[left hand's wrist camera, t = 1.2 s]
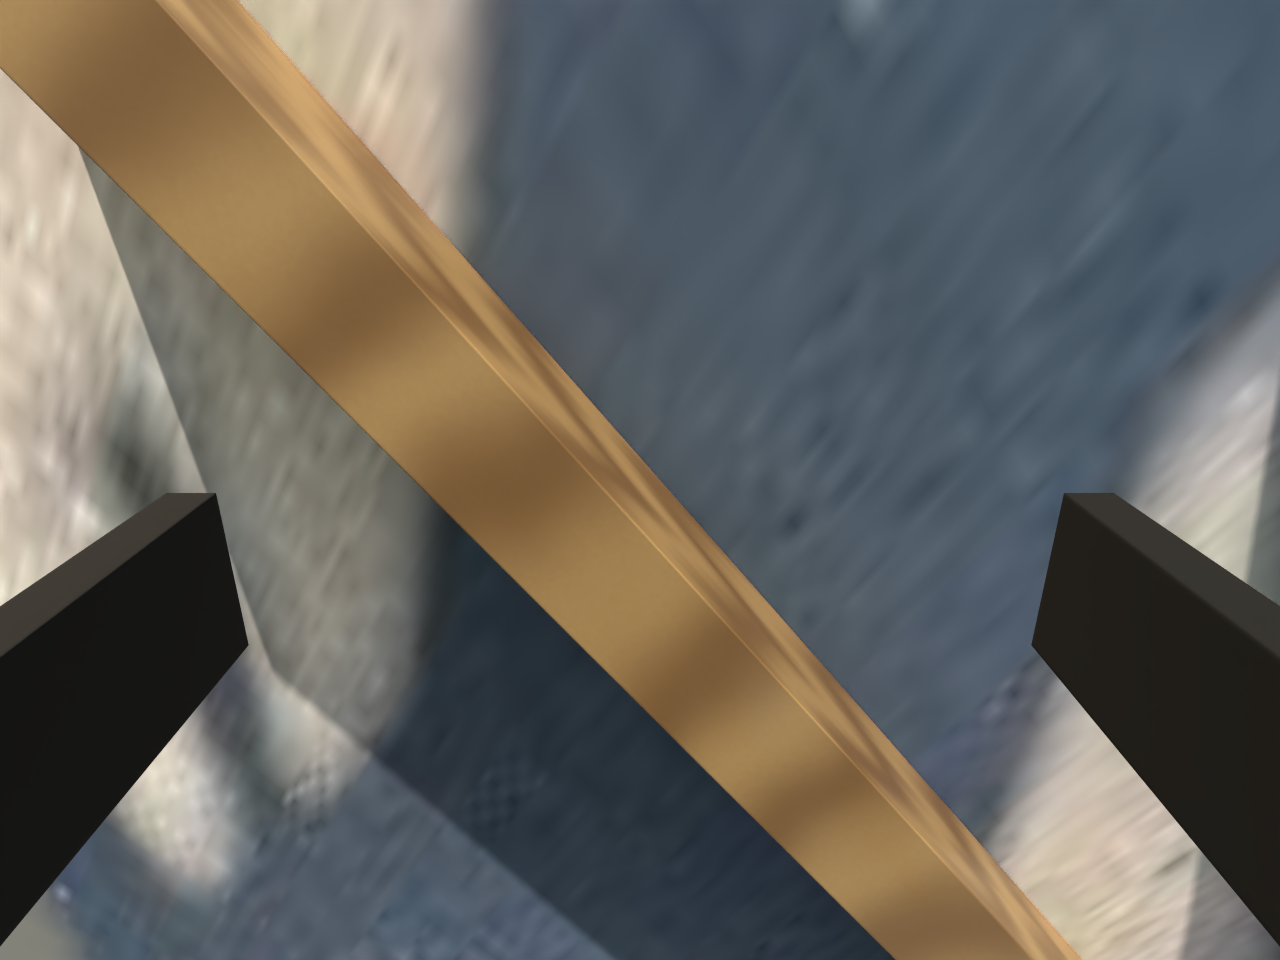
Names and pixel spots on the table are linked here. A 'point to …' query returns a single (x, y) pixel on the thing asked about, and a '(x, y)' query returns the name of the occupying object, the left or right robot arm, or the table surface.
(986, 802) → the table surface
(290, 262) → the beam
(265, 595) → the table surface
